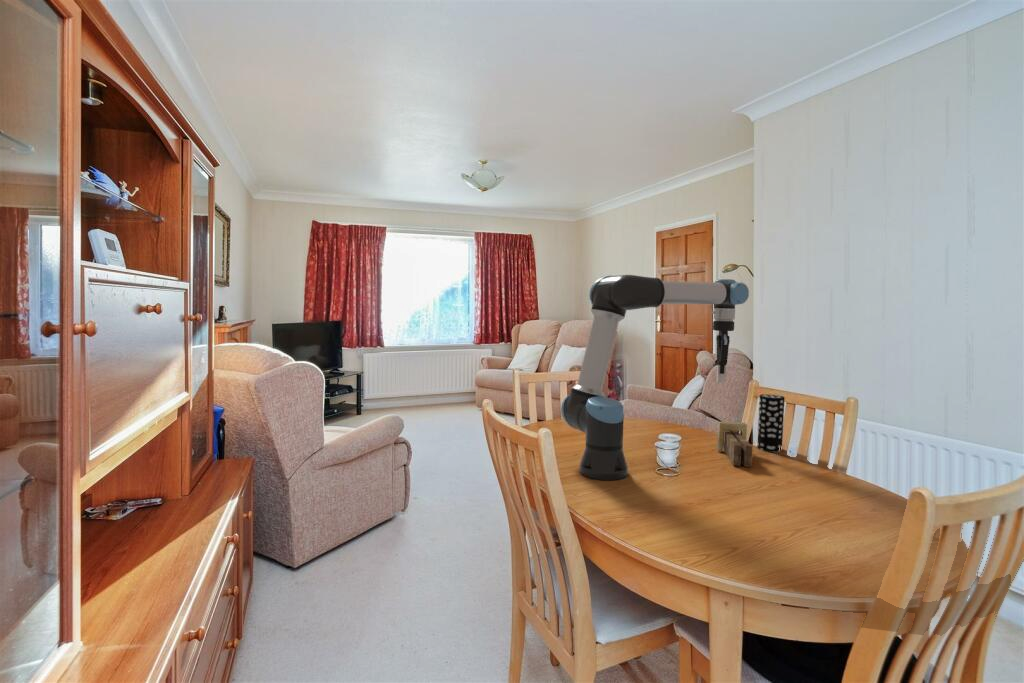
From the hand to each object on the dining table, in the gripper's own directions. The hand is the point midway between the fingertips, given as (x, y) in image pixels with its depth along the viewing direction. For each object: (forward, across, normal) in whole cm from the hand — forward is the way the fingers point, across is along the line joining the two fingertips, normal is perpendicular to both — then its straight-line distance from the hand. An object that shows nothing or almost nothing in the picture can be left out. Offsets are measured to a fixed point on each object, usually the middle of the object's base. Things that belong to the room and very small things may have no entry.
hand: (720, 381), depth 196 cm
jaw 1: (+24, +17, +2) cm, 30 cm away
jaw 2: (+24, +17, +5) cm, 30 cm away
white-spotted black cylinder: (+24, +2, +18) cm, 30 cm away
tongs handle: (+24, +2, +3) cm, 25 cm away
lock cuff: (+24, +10, +3) cm, 26 cm away
